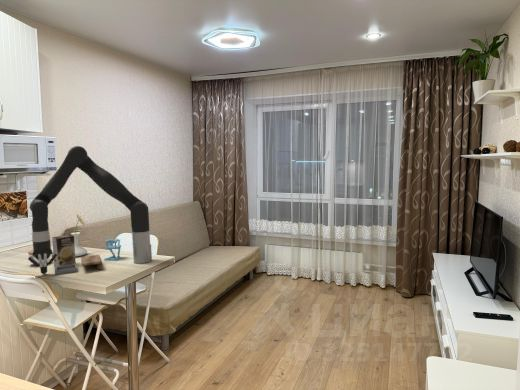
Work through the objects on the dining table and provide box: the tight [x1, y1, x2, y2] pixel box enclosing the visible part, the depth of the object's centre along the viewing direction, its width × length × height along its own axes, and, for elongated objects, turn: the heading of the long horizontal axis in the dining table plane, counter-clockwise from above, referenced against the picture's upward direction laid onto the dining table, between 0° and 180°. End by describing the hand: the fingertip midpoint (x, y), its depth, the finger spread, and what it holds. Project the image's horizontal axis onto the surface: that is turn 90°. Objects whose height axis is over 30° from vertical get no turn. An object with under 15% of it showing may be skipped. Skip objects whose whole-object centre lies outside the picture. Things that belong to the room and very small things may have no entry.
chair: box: [103, 238, 122, 262], centre depth 210 cm, size 8×8×12 cm
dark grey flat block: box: [54, 263, 78, 276], centre depth 187 cm, size 10×8×2 cm
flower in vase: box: [70, 213, 88, 257], centre depth 219 cm, size 13×11×25 cm
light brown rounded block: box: [80, 254, 103, 271], centre depth 193 cm, size 9×16×5 cm, turn 28°
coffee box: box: [51, 234, 77, 268], centre depth 198 cm, size 9×6×16 cm
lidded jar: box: [27, 249, 52, 266], centre depth 202 cm, size 11×11×9 cm
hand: (44, 273), depth 182 cm, fingers closed
